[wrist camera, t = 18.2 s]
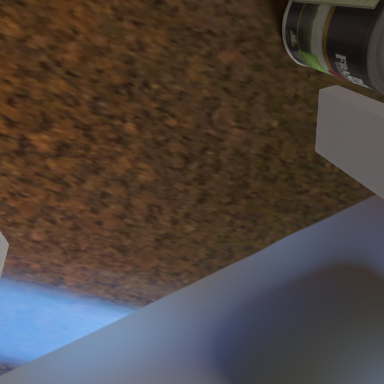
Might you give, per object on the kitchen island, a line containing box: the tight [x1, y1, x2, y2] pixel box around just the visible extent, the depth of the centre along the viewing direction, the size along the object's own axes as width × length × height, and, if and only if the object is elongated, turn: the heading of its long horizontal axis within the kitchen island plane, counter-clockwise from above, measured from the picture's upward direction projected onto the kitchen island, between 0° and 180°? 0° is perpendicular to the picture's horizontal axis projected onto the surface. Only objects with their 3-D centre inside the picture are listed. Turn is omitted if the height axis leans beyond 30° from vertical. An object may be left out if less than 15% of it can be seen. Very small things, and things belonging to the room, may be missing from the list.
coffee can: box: [282, 0, 384, 95], centre depth 33 cm, size 10×10×14 cm
